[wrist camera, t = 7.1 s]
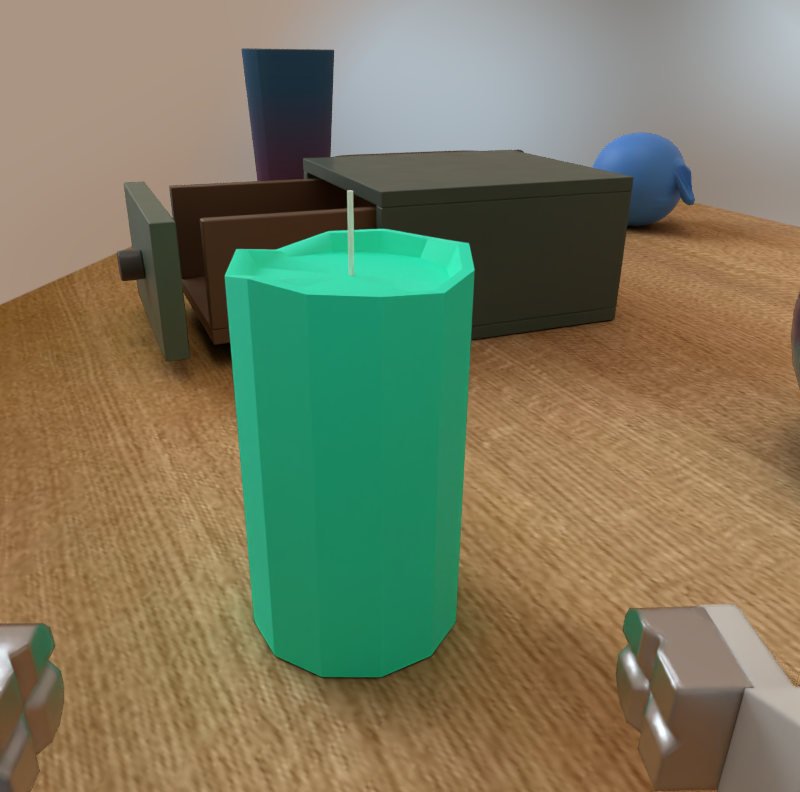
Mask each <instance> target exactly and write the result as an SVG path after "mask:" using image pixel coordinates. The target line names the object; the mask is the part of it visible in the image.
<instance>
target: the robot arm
mask: <svg viewBox="0 0 800 792" xmlns="http://www.w3.org/2000/svg"><path fill="white" fill-rule="evenodd" d="M623 632H624V634H625V637H626V639H627V641H628V643H629V644H628V645H627V646H626V647H625V648H624V649H623V650H622V651H621V652H620V653H619V654H618V661H617V668H616V682H617V693H618V697H619V702H620V706H621V709H622V711H623V714H624V717H625V719H626V722H627V723H628V724H630V725H631V726H632V727H633V728H635V729H636V730H637V731H638V732H640V739H639V744H638V751H639V754H640V756H641V758H642V761H643V763H644V766H645V768H646V770H647V773H648V775H649V778H650V780H651V782H652V785H653V787H654V790H655V791H679V790H717V792H800V687H794V685H793V684H792V682H791V681H790V679H789V678H788V677H787V675H786V674H785V672H784V671H783V670H782V668H781V667H780V665H779V664H778V662H777V661H776V660H775V658H774V657H773V655H772V654H771V653H770V651H769V650H768V648H767V647H766V645H765V644H764V643H763V641H762V640H761V638H760V637H759V635H758V634H757V633H756V631H755V630H754V628H753V627H752V626H751V624H750V623H749V621H748V620H747V618H746V617H745V616H744V614H743V613H742V611H741V610H740V609H739V608H738V607H737V606H735V605H733V604H714V605H698V606H683V607H652V608H629V610H628V612H627V614H626V616H625V620H624V625H623ZM54 647H55V643H54V639H53V636H52V632H51V628H50V627H49V626H47V625H45V624H43V623H37V624H0V792H31V790H32V787H33V785H34V783H35V781H36V778H37V776H38V774H39V772H40V770H39V766H38V762H37V757H36V755H37V754H38V753H40V752H41V751H42V750H43V749H45V748H46V747H47V746H48V745H49V744H51V743H52V742H53V739H54V737H55V734H56V732H57V730H58V727H59V725H60V720H61V715H62V710H63V705H64V684H63V679H62V674H61V671H60V670H59V669H58V668H57V667H56V666H55V665H53V664H52V663H51V662H50V661H49V658H50V656H51V654H52V652H53V650H54Z"/></svg>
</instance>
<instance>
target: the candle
mask: <svg viewBox="0 0 800 792" xmlns="http://www.w3.org/2000/svg"><path fill="white" fill-rule="evenodd" d="M347 215H348V230H341V231H327V232H324V233H321V234H318V235H316V236H313V237H310V238H307V239H304V240H302V241H299V242H296V243H293V244H290V245H287V246H285V247H282V248H279V249H276V250H268V249H236V251H235V253H234V255H233V258H232V260H231V262H230V265H229V267H228V269H227V272H226V274H225V286H226V298H227V310H228V321H229V333H230V345H231V356H232V368H233V380H234V391H235V403H236V415H237V426H238V438H239V450H240V461H241V473H242V485H243V496H244V508H245V520H246V531H247V543H248V555H249V566H250V578H251V590H252V601H253V613H254V622H255V624H256V625H257V627H258V629H259V630H260V632H261V634H262V635H263V637H264V639H265V640H266V642H267V644H268V645H269V647H270V649H271V650H272V652H273V654H274V655H275V656H277V657H279V658H281V659H283V660H286V661H288V662H290V663H292V664H294V665H297V666H299V667H301V668H303V669H305V670H307V671H310V672H312V673H314V674H316V675H318V676H321V677H383V676H385V675H388V674H390V673H392V672H395V671H397V670H399V669H402V668H404V667H406V666H409V665H411V664H413V663H416V662H418V661H420V660H423V659H425V658H427V657H430V656H431V655H432V654H433V653H434V651H435V650H436V648H437V647H438V646H439V644H440V643H441V642H442V640H443V639H444V638H445V636H446V635H447V633H448V632H449V631H450V629H451V628H452V627H453V625H454V624H455V623H456V609H457V590H458V572H459V553H460V534H461V516H462V497H463V478H464V460H465V441H466V422H467V404H468V385H469V366H470V348H471V329H472V310H473V292H474V273H475V269H474V264H473V260H472V255H471V250H470V245H469V243H464V242H458V241H452V240H446V239H441V238H435V237H429V236H423V235H418V234H412V233H406V232H401V231H395V230H390V229H364V230H354V210H353V191H352V190H348V191H347Z"/></svg>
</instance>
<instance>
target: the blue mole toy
mask: <svg viewBox="0 0 800 792" xmlns="http://www.w3.org/2000/svg"><path fill="white" fill-rule="evenodd" d="M593 168H596V169H600V170H605V171H609V172H614V173H618V174H623V175H627V176H632V177H634V180H633V187H632V191H631V192H632V194H631V201H630V209H629V216H628V223H627V225H628V226H642V225H647V224H651V223H654V222H656V221H658V220H660V219H662V218H664V217H665V216H666V215H668V214H669V213H670V212H671V211H672V210H673V209H674V207H675V206H676V205H677V203H678V202H679V200H680V198H681V199H682V200H683V202H684V203H686V204H687V205H693V204H694V201H695V199H694V195H693V192H692V185H691V171H690V169H689V168H688V167H687V166H686V165H685V160H684V158H683V156H682V154H681V153H680V151H679V150H678V148H677V147H676V146H675V145H674V144H673V143H672V142H670V141H669V140H668V139H666V138H664V137H662V136H659V135H656V134H652V133H632V134H627V135H624V136H621V137H619V138H617V139H615V140H613V141H612V142H611V143H609V144H608V145H607V146H606V147H605V148H604V149H603V150H602V151H601V152H600V154H599V155H598V157H597V159H596V161H595V163H594V165H593Z"/></svg>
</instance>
